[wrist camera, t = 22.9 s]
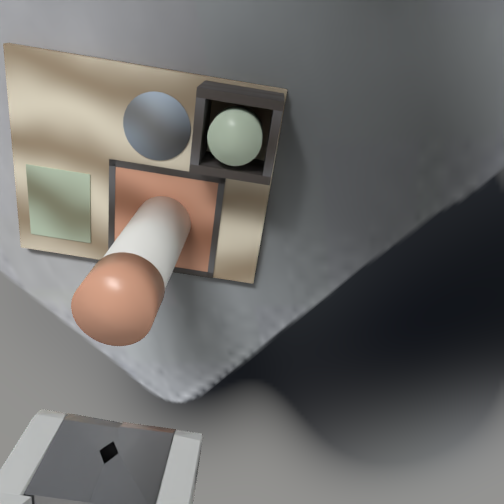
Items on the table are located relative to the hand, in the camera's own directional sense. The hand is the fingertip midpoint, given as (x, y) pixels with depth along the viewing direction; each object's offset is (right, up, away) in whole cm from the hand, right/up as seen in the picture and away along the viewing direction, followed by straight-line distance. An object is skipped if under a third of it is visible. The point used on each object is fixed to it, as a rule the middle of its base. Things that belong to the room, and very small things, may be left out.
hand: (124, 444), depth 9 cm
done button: (+1, +12, +23) cm, 26 cm away
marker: (-5, +6, +29) cm, 30 cm away
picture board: (-6, +10, +28) cm, 30 cm away
